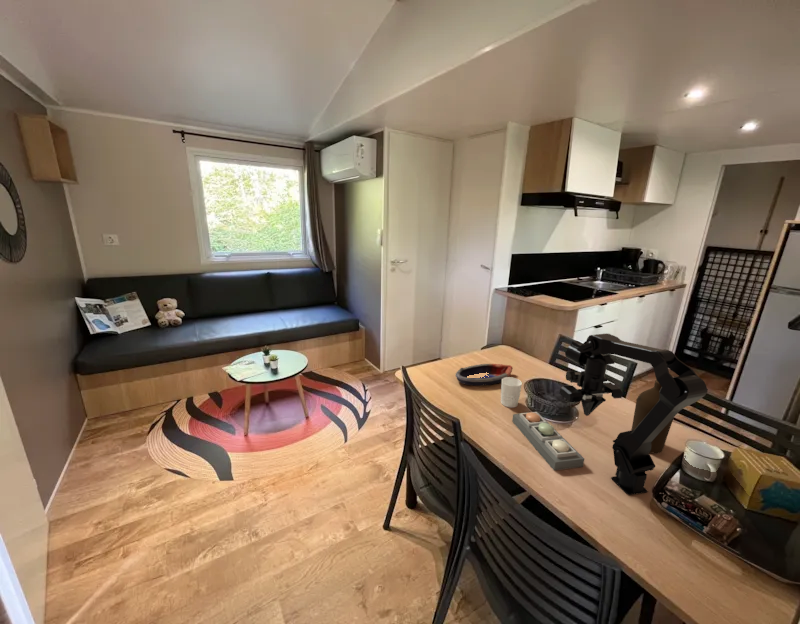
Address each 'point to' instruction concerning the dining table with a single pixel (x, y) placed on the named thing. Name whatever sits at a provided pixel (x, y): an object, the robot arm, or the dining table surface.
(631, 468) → the robot arm
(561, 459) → the button panel
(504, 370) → the dish
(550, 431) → the sage button
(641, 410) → the olive oil
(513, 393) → the white cup
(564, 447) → the cream button
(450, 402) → the dining table surface
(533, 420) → the terracotta button
